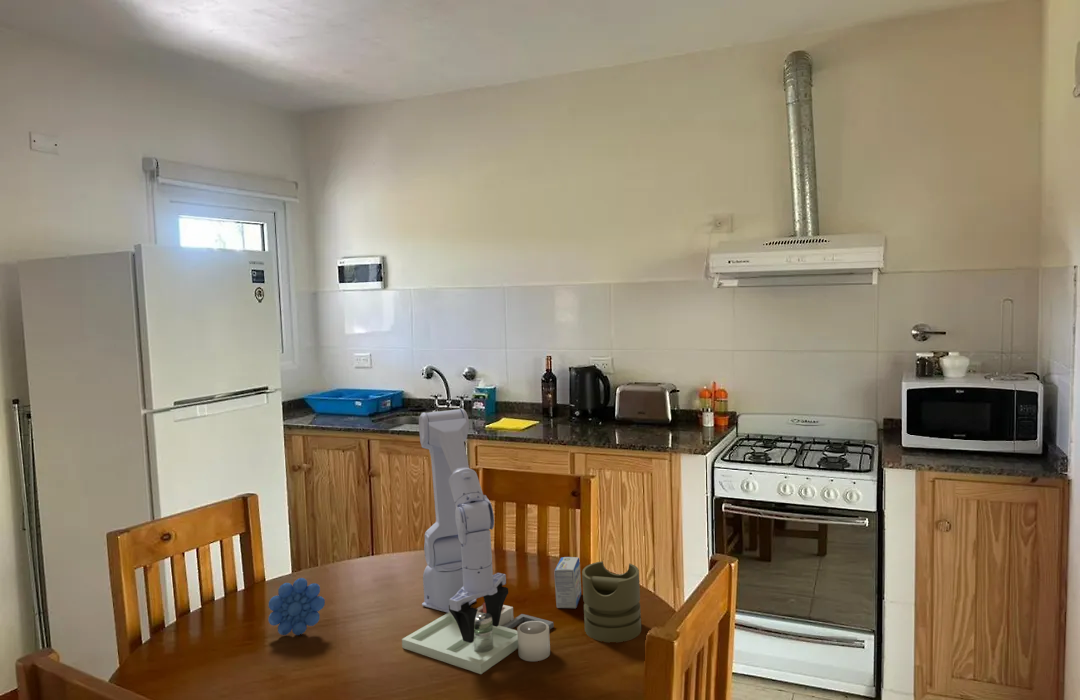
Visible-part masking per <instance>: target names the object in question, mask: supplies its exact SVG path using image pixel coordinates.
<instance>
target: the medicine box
mask: <svg viewBox="0 0 1080 700" xmlns="http://www.w3.org/2000/svg"><path fill="white" fill-rule="evenodd" d="M553 573H554V586H555V587H554V588H555V603H556V605H555V606H556V608H557V609H576V608H577V607H578V604H579V602H580V599H581V596H582V582H581V580H582V579H581V578H582V577H581V562H580V557H578V556H576V557H575V556H564V557H560V559H559V561H558V563H557V565H556V567H555V569H554V572H553Z"/></svg>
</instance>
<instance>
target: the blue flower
mask: <svg viewBox="0 0 1080 700" xmlns="http://www.w3.org/2000/svg"><path fill="white" fill-rule="evenodd" d="M320 591H321V587H320V585H319V584H318V583H313V582H312V583H310V584H309V585H308V580H307V579H306V578H305V577H299V578H297V579H296V580H294V582H293V584H292V583H290V582H284V583H283V584H281V585H280V586H279V587H278V590H277V595H274V596H272V597H271V598H270V600H269V601H268V608H269V610H270V611H271V612H270V614H269V615H268V623H269V625H271V626H277V633H278V634H279V635H281V636H287V635H288V634H289V633H291V632H292V633H293V634H294V635H295V636H301V635H303V634H304V633H305V632H306V631H307V629H308V627H307V626H309V627H313V626H315V625H316V624H317V623H319V621H320V613H319V611H321V610H322V609H323V608H324V607H325V605H326V604H325V603H326V602H325V601H326V599H325V598H324V597H323V596H322V595H321V596H320ZM300 634H301V635H300Z"/></svg>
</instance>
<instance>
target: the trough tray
mask: <svg viewBox="0 0 1080 700" xmlns="http://www.w3.org/2000/svg"><path fill="white" fill-rule="evenodd" d="M493 645H494V647H493V649H492V650H490V651H488V652H484V653H479V652H475V651H474V650H473V644H472V643H469V642H466V641H463V638H462V635H461V632H460V629H459V627H458V624H457V622H456V620H455V618H454V617H453V615H452V614H451V612H449V613H447V612H446V613H445V614H444V615H442V616H440V617H438V618H436V619H434V620H433V621H431V622H430V623H427V624H426V625H424V626H422V627H421V628H418V629H417V630H415V631H414V632H412V633H410V634H408V635H407V636H404V637H403V638H401V648H402V649H405V650H408V651H411V652H413V653H416V654H419V655H422V656H425V657H429V658H431V659H435V660H438V661H441V662H444V663H447V664H449V665H453V666H455V667H457V668H460V669H465V670H468V671H470V672H473V673H476V674H479V675H482V674H483V673H485V672H487V671H488V670H489V669H491V668H492V667H494V666H495V665H496V664H498V663H499V662H500V661H502V660H504V659H505V658H506V657H508V656H509V655H510V654H512V653H513V652H514V651H516V650H518V634H517V630H516V629H514V628H512V629H510V628H506V627H503V626H499V625H498V626H497V627H496V626H493Z"/></svg>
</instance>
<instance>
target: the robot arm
mask: <svg viewBox="0 0 1080 700" xmlns="http://www.w3.org/2000/svg"><path fill="white" fill-rule="evenodd" d="M469 421H470V420H469V416H468V414H467V411H466V410H465V409H464V408H462V407H461V408H458V409H449V410H441V411H440V410H439V411H430V412H429V411H428V412H421V413H420V415H419V417H418V431H419V442H420V445H421V446H420V447H421V448H422V449H425V450H428V451H429V455H430V461H431V472H432V473H431V474H432V487H433V498H434V500H433V501H434V512H435V522H434V523H433V524H432V525H431V526H430V527H429V528H428V529H427V530H426V531H425V532H424V544H423V545H424V547H423V551H424V558H425V562H426V567H425V568H424V571H423V574H422V576H423V577H422V582H423V585H422V586H423V599H424V601H423V602H422V603H421V606H423V607H426V608H430V609H433V610H437V611H441V612H444V613H446V614H447V613H449V612H451V614H452V615H453V617H454V618H455V620H456V622H457V624H458V627H459V629H460V632H461V635H462V638H463V641H466V642H469V643H472V642H473V641H474V623H475V617H476V613H477V611H478V609H477V608H474V607H472V604H473V603H475V602H477V599H479V598H483V601H484V602H485V605H486V612H487V613H489V614H491V615H492V623H493V626H496V627H497V626H498V625H499V621H500V615H501V611H502V607H503V605H505V604H504V603H505V601H506V599H507V596H508V595H509V588H508V587H506V586H505V585H506V584H507V574H505V573H501V572H496V573H494V571H493V555H492V536H491V530H493V529H494V528H495V516H494V509H493V508H494V507H493V505H492V502H491V500H489V498H488V497H487V495H486V494H484V491H483V490H482V486H481V483H480V480H479V477H478V474H477V472H476V471H475V470H474V469H472V468H470V466H469V461H468V456H467V451H466V445H465V442H466V441H467V439H468V435H469V431H470V422H469Z"/></svg>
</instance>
